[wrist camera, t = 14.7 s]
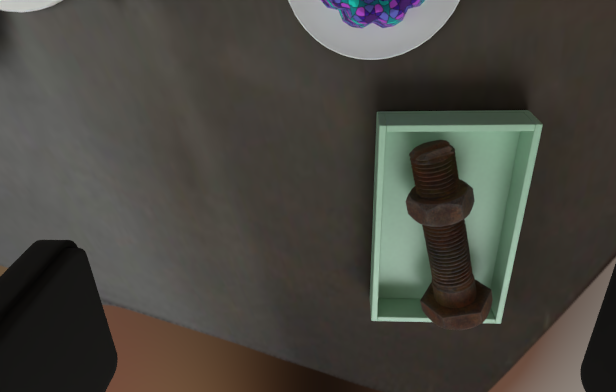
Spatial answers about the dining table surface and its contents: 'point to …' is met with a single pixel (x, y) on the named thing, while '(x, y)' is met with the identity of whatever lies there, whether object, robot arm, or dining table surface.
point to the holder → (479, 223)
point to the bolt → (446, 238)
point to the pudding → (372, 24)
